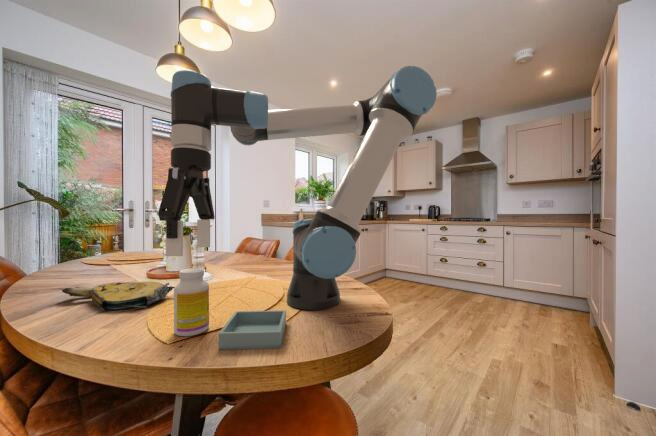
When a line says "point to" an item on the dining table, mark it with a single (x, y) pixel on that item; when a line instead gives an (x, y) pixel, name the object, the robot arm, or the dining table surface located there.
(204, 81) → the robot arm
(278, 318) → the tray
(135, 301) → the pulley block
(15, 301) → the dining table surface
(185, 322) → the supplement bottle
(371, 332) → the dining table surface
